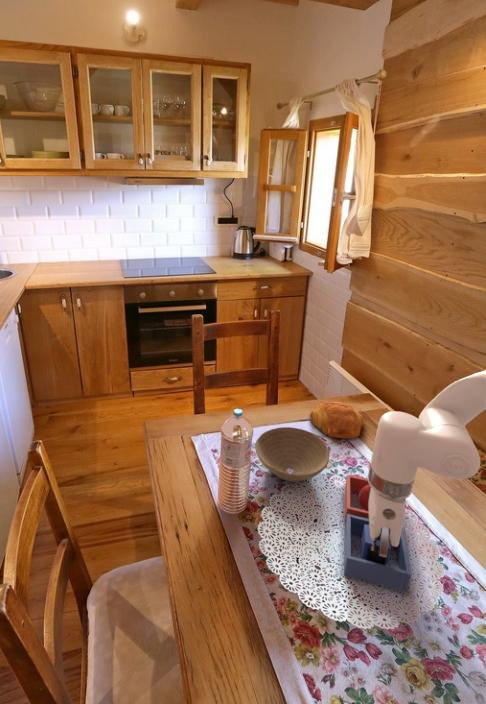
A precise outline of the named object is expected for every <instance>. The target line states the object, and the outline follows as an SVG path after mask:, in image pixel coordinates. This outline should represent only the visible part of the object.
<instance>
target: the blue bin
mask: <svg viewBox="0 0 486 704" xmlns="http://www.w3.org/2000/svg"><path fill="white" fill-rule="evenodd" d="M364 524H366V525H368V524H369V519H366V518H362V517H358V516H354V515H350V514H347V517H346V523H344V530H343V575H345V576H348V577H352V578H356V579H359V580H362V581H366V582H370V583H373V584H377V585H381V586H384V587H387V588H390V589H395V590H398V591H402V592H406V593H407V592H408V589H409V584H410V582H411V581H410V580H411V576H412V573H411V565H410V559H409V555H408V553H409V552H408V548H407V541H406V536H405V529H404V528H405V527H403V526H402V530H401V535H400V541H399V545H398V546H397V547H396V552H397V553H396V554H397V560H398V566H399V568H397V567H393V566H389V565H387V566H386V565H382V564H379V563H375V562H371V561H367V560H364V559H362V558H360V557H357V556H352V534H353V535H357V536H361V537H362V534H363V529H364ZM389 540H390V539H389ZM390 544H391V541H390Z"/></svg>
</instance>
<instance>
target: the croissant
mask: <svg viewBox="0 0 486 704" xmlns="http://www.w3.org/2000/svg"><path fill="white" fill-rule="evenodd" d="M309 415H310V418H311V423H312V425H314V428H317V429H318V430H321V431H322V433H324V435H325V436H327V437H330V438H335V439H355V438H357V437H359V436H361V435H360V434H361V430H362V427H363V424H364V418H363V415H362V414H361V413H360V412H359V411H358V410H357V409H355V408H354V407H353V406H352V405H351V404H348V403H344V402H340V401H334V402H333V401H327V402H321V403H318V405H316V406H315V407H314V408H313V410H311V412H310V414H309Z"/></svg>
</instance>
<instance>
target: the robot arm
mask: <svg viewBox="0 0 486 704" xmlns="http://www.w3.org/2000/svg"><path fill="white" fill-rule="evenodd" d="M422 409H423V410H422V411H421V412H420V414H419V415H418V417H416V416H414V415H413V414H409V413H407V412H403V411H396V410H392V411H388V412H385V413H384V414H382V415H381V417H380V418H379V422H378V424H377V429H376V435H375V440H374V444H373V449H372V454H371V459H370V463H369V469H368V474H367V479H368V483H369V485H370V486H371V490H370V495H369V503H368V512H369V524H368V525H369V528H370V537H371V539H372V542H371V546H369V548H368V552H367V557H366V560H367V561H371V562H375V563H379V564H382V565H384V564H385V560H386V557H387V551H388V545H389V539H390V541H391V543H390V546H391V547H395V548H397V546H398V545H399V541H400V535H401V530H402V527H403V524H404V518H405V511H406V499H407V498H409V497H410V496H411V495H412V492H413V488H414V484H415V479H416V476H417V472H418V467H419V468H421V469H424V470H426V471H429V472H431V473H434V474H436V475H438V476H441V477H444V478H447V479H452V480H466V479H470V478H472V477H473V476H475V475H476V474H477V473H478V471H479V470H480V467H481V457H480V454H479V451H478V449H477V447H476V444H475V443H474V440H473V439H472V438H471V435H470V433H469V431H468V430H467V428H466V425H468V424H469V423H470V422H471V421H473V419H475V418H476V417H477V416H478V415H480V414H481V413H482V412H484V411H486V369H485V370H483V371H479V372H475V373H473V374H471V375H468V376H466V377H463V378H460V379H458V380H456V381H454V382H452V383H450V384H449V385H448V386H446V387H445V388H444V389H442V391H440V392H439V393H438V394H437V395H436V396H435V397H434V398H433V399H432V400H430V402H428V404H427V405H426V406H424V408H422ZM376 540H379V541H380V543H379V546H378V545H375V543H376Z"/></svg>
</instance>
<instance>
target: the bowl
mask: <svg viewBox="0 0 486 704" xmlns="http://www.w3.org/2000/svg"><path fill="white" fill-rule="evenodd" d="M254 449H255V453H256V456H257V458H258V459H259V461H260V462H261V464H262V465H263V466H264V467H265V468H266V469H267V470H268V471H269V472H271V473H272V474H273V475H275V476H276V477H278V478H279V479H282V480H284V481H287V482H295V483H296V482H297V483H298V482H302V481H305V480H309V479H312V478H314V477H316V476H317V475H319V474H321V473H322V472H323V471H324V470H325V469H326V467H328V464H329V461H330V450H329V447H328V446H327V444H326V443H325V441H324V440H323V439H321V437H319V436H318V435H317V434H316V433H315V434H314V433H313V432H311V431H308V430H306V429H302V428H298V427H289V426H288V427H287V426H283V427H275V428H272V429H269V430H266V431H264V432H263V433H262V434H260V436H259V437H258V438H257V440H256V441H255V444H254ZM287 469H291V470H292V473H289V472H287V471H286V470H287Z"/></svg>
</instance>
